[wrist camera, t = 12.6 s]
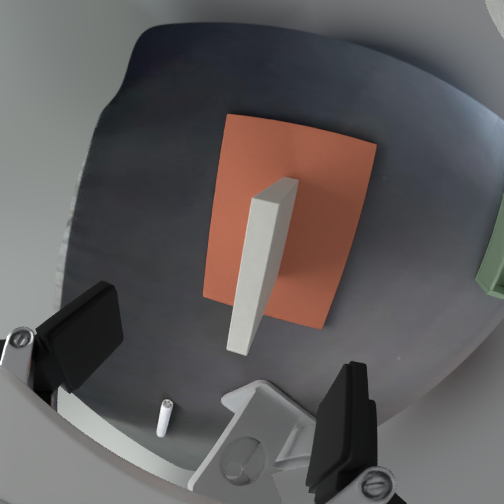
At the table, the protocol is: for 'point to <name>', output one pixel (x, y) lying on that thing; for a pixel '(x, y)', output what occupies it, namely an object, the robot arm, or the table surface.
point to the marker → (164, 417)
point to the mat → (303, 215)
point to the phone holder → (256, 446)
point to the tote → (494, 260)
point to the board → (260, 260)
